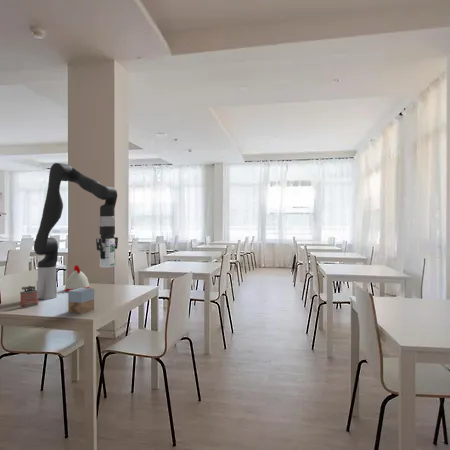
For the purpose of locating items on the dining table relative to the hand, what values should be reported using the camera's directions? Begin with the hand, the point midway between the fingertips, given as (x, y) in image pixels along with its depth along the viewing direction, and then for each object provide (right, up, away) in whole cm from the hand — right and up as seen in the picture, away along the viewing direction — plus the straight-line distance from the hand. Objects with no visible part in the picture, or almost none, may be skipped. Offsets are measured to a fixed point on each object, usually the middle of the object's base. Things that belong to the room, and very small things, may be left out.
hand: (107, 258), depth 186 cm
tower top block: (-8, -19, -14) cm, 25 cm away
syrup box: (0, -5, 0) cm, 5 cm away
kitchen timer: (-32, -23, +41) cm, 57 cm away
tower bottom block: (-8, -24, -14) cm, 29 cm away
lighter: (-38, -24, -3) cm, 45 cm away
